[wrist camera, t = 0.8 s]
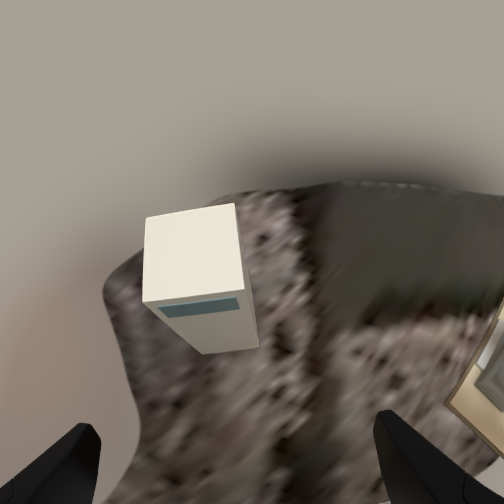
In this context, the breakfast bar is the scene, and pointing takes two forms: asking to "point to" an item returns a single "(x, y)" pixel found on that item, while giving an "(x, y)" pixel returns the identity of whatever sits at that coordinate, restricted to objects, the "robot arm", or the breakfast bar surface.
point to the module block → (200, 278)
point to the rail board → (479, 402)
